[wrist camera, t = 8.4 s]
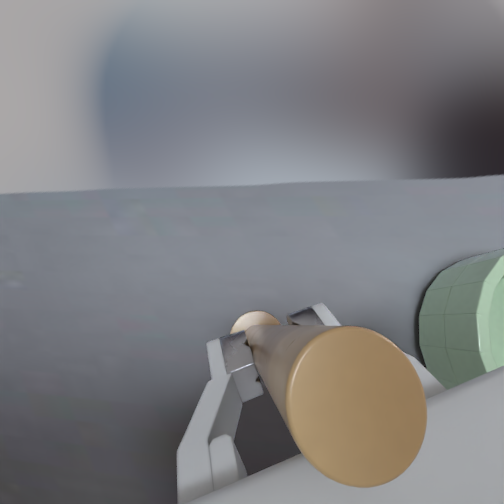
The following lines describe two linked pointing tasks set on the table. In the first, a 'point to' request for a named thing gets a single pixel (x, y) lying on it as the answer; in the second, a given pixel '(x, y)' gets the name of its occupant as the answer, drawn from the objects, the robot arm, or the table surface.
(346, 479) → the stirring stick
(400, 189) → the table surface
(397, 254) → the table surface
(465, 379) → the bowl
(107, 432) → the table surface
